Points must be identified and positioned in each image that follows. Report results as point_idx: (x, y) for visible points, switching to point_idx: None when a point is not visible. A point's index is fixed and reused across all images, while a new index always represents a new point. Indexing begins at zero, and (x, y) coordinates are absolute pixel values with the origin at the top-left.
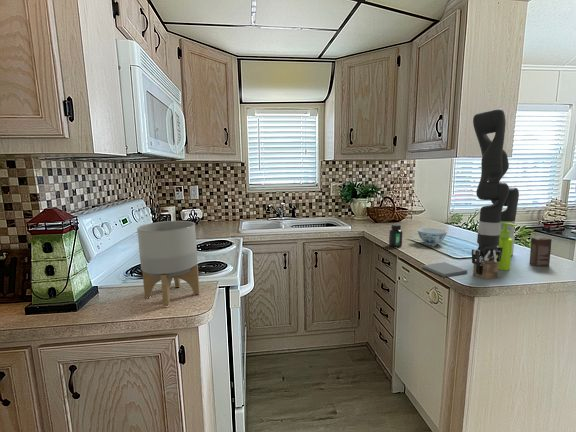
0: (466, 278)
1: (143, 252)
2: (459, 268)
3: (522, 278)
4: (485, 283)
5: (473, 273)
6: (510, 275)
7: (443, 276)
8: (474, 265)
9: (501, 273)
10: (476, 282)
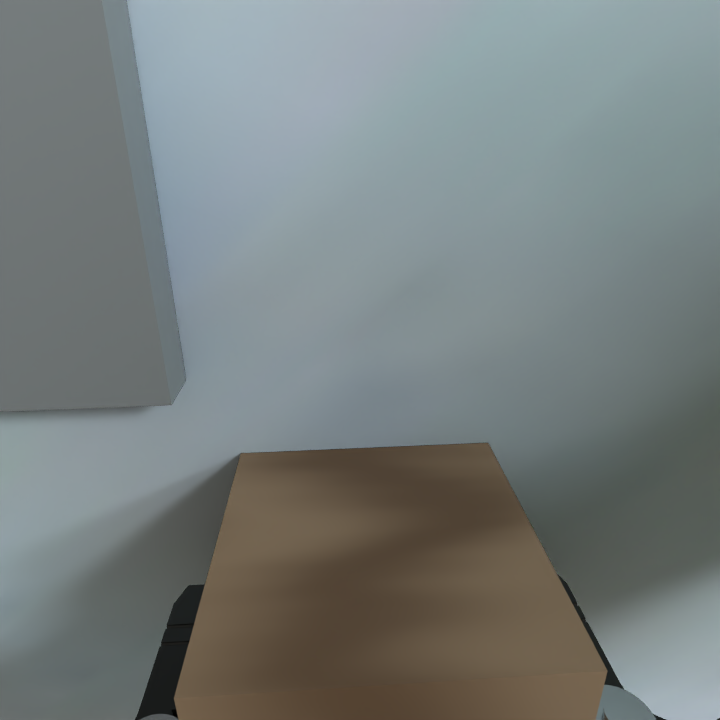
0: (3, 546)
1: None
2: (91, 258)
3: (697, 702)
4: (137, 712)
5: (239, 470)
6: (695, 613)
7: None
8: (210, 593)
9: (681, 536)
10: (46, 672)
